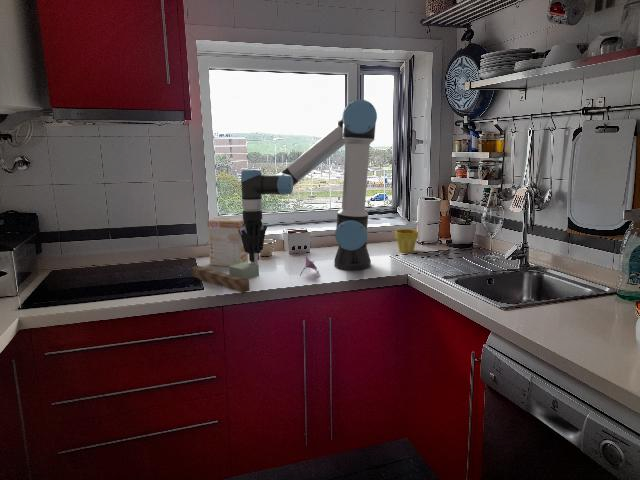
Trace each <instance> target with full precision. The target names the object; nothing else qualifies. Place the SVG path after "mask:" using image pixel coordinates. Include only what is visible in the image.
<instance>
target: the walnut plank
mask: <svg viewBox="0 0 640 480" xmlns="http://www.w3.org/2000/svg"><path fill="white" fill-rule="evenodd" d="M190 272H191V273H190V274H191V278H192V277H196V278H199V279H201V280H200V281H203V282H207V283H208V284H213V285H216V286H219V287H223V288H226V289H230V290H232V291H233V290H234V291H235V292H238V293H239V292H240V293H246V292H249V291H251V290H250V279H246V278H242V277H238V276H234V275H231V274H229V273H226V272H222V271H218V270H215V269H212V268H207V267H204V266H200V265H194V266H192V267H190ZM199 279H198V280H199Z"/></svg>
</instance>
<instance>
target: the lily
mask: <svg viewBox="0 0 640 480" xmlns="http://www.w3.org/2000/svg"><path fill="white" fill-rule="evenodd" d="M302 251H303V253H304V256H305V266H304V268H303V270H302V271H301V272H300V274H299V276H300V277H301V276H302V273H303V272H304V271H305V269H307V268H308V269H312V270H314V271H315V272H316V273H317V274H318V275H319V276H321V274H320V273H319V272H320V271H319V270H318V267H317V266H316V264H315V260H309V258H308V256H307V254H306V251H304V250H302Z"/></svg>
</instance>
